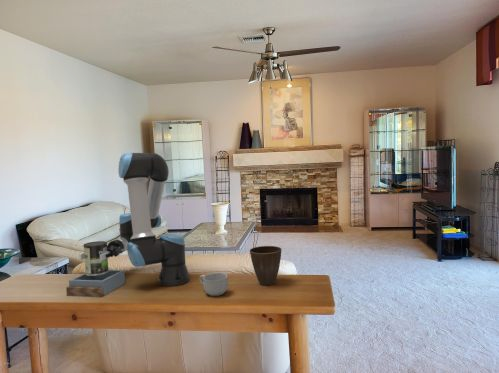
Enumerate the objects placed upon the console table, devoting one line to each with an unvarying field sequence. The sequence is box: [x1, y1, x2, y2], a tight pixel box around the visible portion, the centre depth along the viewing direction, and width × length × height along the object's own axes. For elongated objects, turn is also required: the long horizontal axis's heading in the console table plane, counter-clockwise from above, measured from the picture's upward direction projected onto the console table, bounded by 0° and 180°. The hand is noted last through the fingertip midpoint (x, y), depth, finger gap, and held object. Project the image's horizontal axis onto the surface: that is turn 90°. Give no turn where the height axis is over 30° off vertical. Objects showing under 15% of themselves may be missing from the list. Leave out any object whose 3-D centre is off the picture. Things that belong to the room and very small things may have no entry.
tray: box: [68, 269, 126, 296], centre depth 175 cm, size 17×17×6 cm
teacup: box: [199, 271, 229, 297], centre depth 163 cm, size 14×11×8 cm
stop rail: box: [65, 285, 105, 298], centre depth 166 cm, size 18×2×4 cm, turn 77°
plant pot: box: [249, 245, 282, 286], centre depth 174 cm, size 15×15×16 cm
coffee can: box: [82, 240, 110, 276], centre depth 175 cm, size 10×10×14 cm
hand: (90, 257), depth 170 cm, fingers closed on coffee can, 10 cm apart
